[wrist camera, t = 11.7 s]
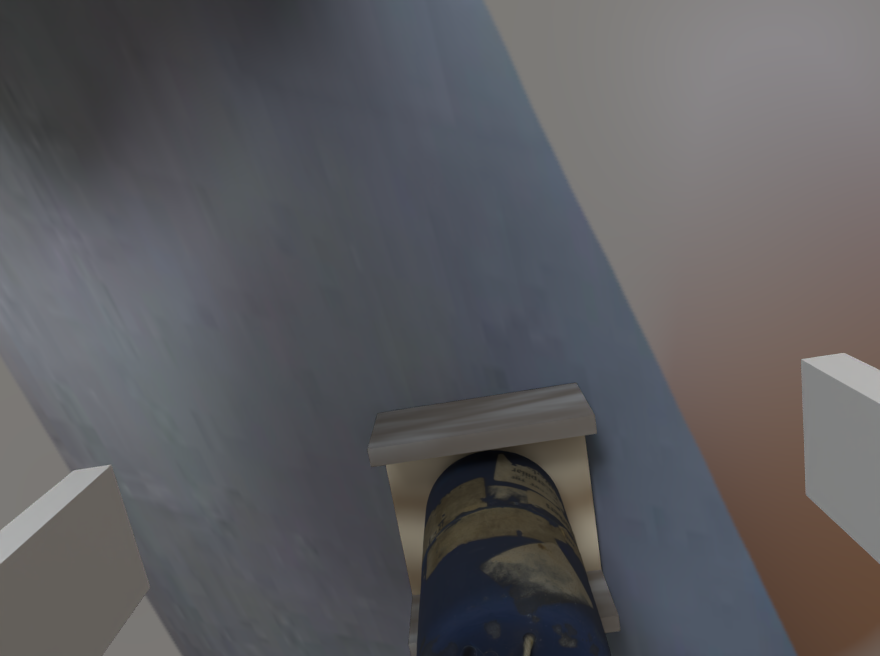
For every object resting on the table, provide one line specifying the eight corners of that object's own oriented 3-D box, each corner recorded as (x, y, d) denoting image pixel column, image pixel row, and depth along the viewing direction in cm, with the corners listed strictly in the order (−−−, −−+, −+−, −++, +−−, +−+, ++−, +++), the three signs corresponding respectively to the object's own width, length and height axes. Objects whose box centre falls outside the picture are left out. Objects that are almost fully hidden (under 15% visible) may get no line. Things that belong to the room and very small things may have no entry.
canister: (583, 473, 46) (667, 666, 28) (523, 581, 48) (567, 821, 31) (459, 420, 45) (467, 586, 27) (403, 532, 47) (378, 751, 30)
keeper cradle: (377, 413, 46) (367, 449, 40) (576, 382, 45) (594, 415, 39) (416, 600, 50) (411, 658, 44) (600, 575, 49) (620, 631, 43)
